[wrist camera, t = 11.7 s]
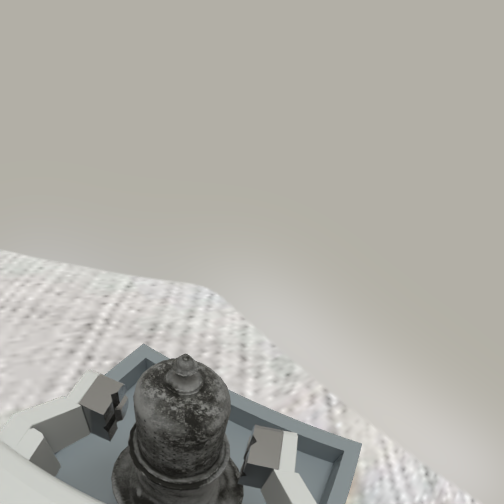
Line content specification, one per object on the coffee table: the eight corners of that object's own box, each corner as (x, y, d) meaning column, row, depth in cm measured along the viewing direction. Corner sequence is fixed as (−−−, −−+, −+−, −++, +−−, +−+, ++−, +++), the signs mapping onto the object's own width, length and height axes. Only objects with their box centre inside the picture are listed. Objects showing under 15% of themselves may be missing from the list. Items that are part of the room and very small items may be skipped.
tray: (-11, 499, 8) (-30, 482, 7) (144, 367, 22) (143, 343, 21) (247, 667, 4) (259, 676, 3) (346, 462, 17) (361, 443, 16)
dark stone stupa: (224, 461, 16) (273, 295, 11) (240, 549, 11) (336, 449, 6) (122, 456, 14) (94, 280, 9) (122, 547, 9) (41, 442, 4)
